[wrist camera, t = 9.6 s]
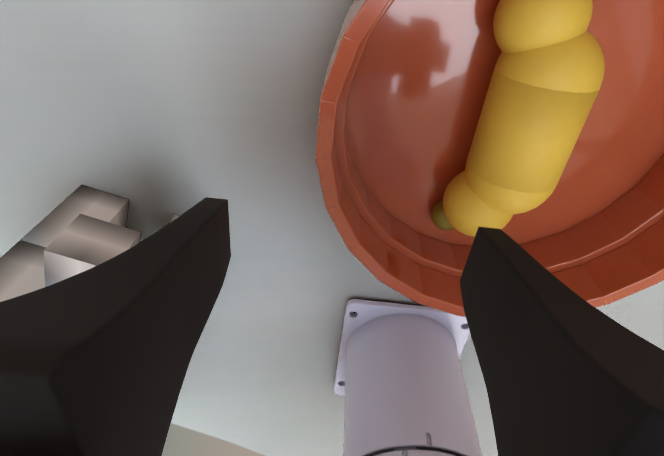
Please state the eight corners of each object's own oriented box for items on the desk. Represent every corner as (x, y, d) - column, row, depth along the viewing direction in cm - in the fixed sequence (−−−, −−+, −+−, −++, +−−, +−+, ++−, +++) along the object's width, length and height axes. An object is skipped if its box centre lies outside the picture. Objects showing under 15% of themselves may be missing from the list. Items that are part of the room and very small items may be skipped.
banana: (510, 227, 22) (535, 274, 19) (426, 218, 22) (437, 263, 19) (620, -46, 15) (686, -42, 12) (499, -60, 15) (535, -59, 12)
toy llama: (227, 192, 23) (-121, 880, 6) (178, 379, 32) (-10, 844, 16) (82, 144, 21) (-826, 834, 5) (76, 353, 31) (-242, 825, 15)
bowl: (607, 269, 24) (658, 337, 20) (313, 238, 24) (304, 300, 20) (832, -103, 15) (1016, -118, 11) (347, -159, 14) (342, -197, 10)
